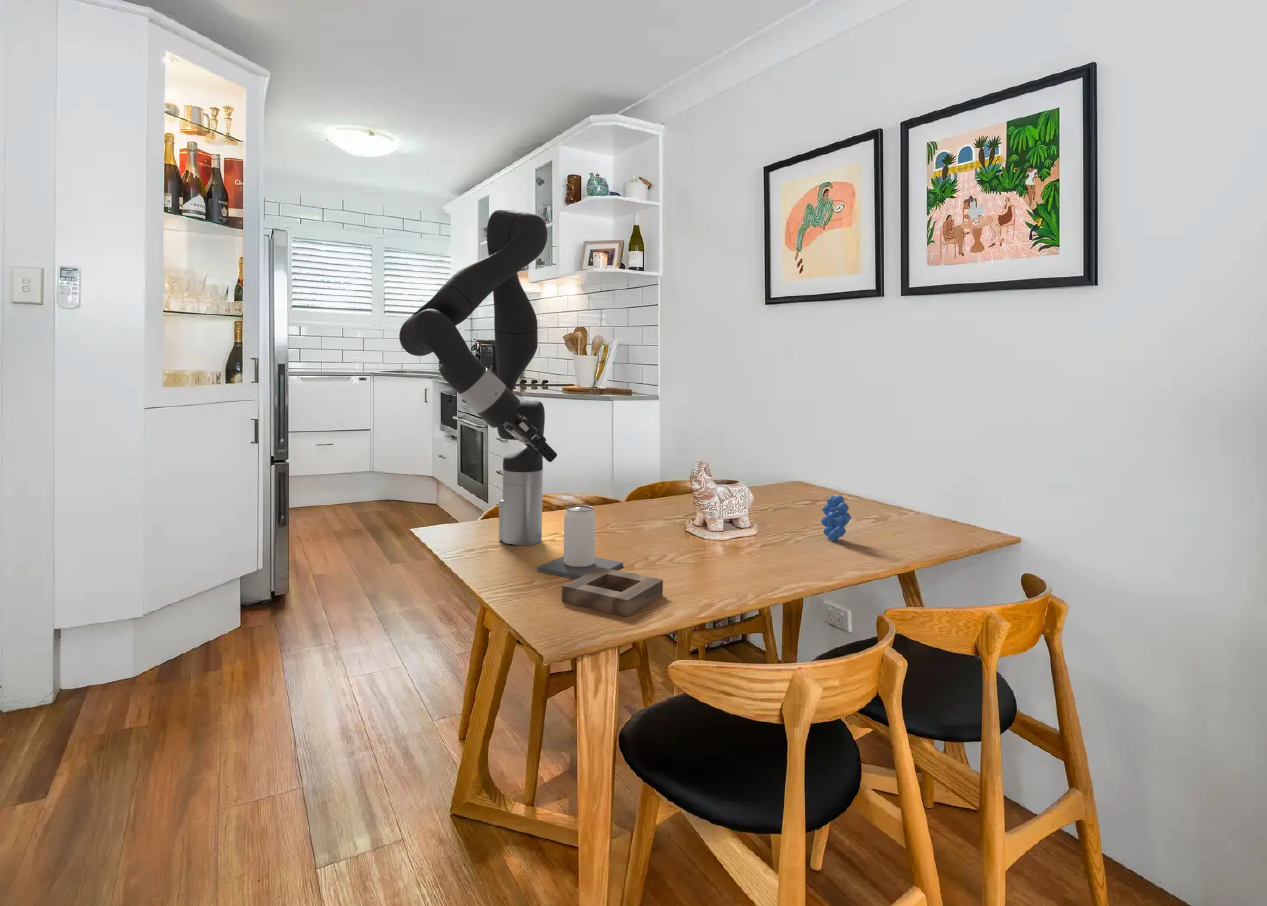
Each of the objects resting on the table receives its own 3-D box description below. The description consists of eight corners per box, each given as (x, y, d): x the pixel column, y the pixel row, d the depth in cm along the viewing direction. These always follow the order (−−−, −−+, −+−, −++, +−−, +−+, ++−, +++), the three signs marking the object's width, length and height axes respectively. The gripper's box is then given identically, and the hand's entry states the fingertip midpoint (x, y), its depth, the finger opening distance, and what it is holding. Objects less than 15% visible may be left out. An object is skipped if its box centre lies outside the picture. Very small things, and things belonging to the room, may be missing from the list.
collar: (561, 601, 131) (562, 585, 131) (601, 581, 143) (601, 567, 143) (627, 616, 125) (627, 600, 125) (662, 594, 137) (663, 579, 136)
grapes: (860, 547, 176) (864, 498, 175) (834, 547, 175) (838, 498, 173) (839, 534, 188) (842, 489, 186) (814, 535, 186) (817, 489, 185)
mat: (536, 570, 149) (536, 566, 149) (571, 555, 160) (572, 552, 160) (590, 582, 143) (590, 578, 143) (622, 566, 154) (623, 562, 154)
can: (576, 557, 156) (577, 503, 155) (600, 563, 153) (601, 507, 151) (557, 564, 151) (558, 508, 149) (581, 570, 148) (582, 512, 146)
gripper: (514, 386, 131) (572, 447, 137) (493, 380, 143) (548, 436, 150) (484, 416, 129) (545, 475, 136) (467, 407, 142) (523, 462, 149)
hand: (546, 455), depth 143 cm, fingers open, 8 cm apart
